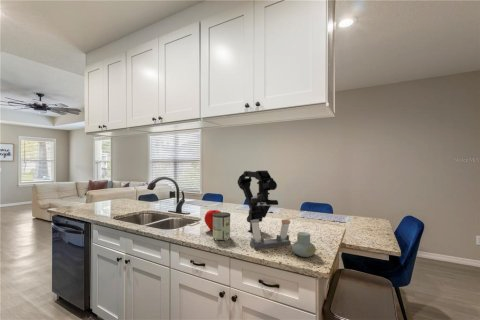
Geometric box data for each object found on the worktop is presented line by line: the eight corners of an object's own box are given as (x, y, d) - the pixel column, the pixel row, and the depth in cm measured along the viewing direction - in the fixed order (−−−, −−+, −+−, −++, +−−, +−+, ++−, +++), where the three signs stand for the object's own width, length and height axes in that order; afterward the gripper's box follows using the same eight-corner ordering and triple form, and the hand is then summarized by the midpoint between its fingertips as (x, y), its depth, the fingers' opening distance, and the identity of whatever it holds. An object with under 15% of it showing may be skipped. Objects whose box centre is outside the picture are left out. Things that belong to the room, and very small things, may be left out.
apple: (201, 231, 151) (201, 210, 152) (209, 227, 162) (209, 207, 163) (218, 233, 148) (218, 211, 148) (225, 228, 159) (225, 208, 159)
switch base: (249, 245, 125) (249, 236, 125) (284, 241, 132) (284, 233, 132) (254, 249, 119) (254, 240, 120) (290, 244, 127) (290, 236, 127)
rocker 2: (278, 238, 129) (281, 219, 126) (284, 237, 130) (288, 219, 127) (280, 240, 127) (283, 221, 124) (286, 239, 129) (290, 221, 125)
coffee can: (216, 234, 144) (216, 211, 145) (232, 236, 141) (232, 212, 142) (209, 240, 134) (209, 214, 135) (226, 241, 132) (227, 216, 132)
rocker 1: (253, 242, 123) (250, 220, 127) (260, 241, 125) (257, 219, 129) (254, 242, 122) (251, 219, 126) (262, 241, 123) (258, 219, 127)
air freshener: (302, 260, 106) (302, 237, 106) (289, 254, 113) (289, 233, 113) (318, 255, 112) (318, 233, 112) (304, 250, 119) (304, 230, 119)
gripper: (243, 191, 146) (243, 217, 143) (264, 189, 131) (265, 218, 129) (256, 191, 153) (257, 216, 150) (278, 190, 138) (279, 218, 135)
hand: (264, 217), depth 141 cm, fingers closed
